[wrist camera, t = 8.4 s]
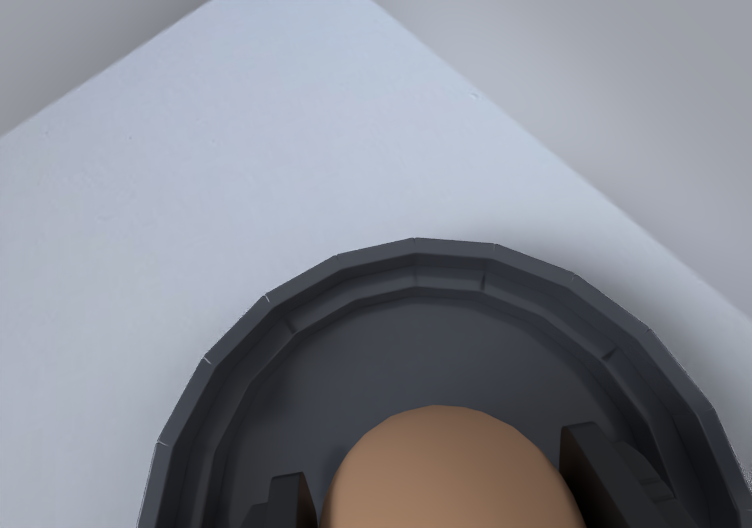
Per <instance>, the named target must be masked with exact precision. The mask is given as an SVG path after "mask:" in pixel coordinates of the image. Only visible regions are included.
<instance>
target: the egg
mask: <svg viewBox="0 0 752 528" xmlns="http://www.w3.org/2000/svg"><path fill="white" fill-rule="evenodd" d="M318 528H587V527H586V524H585V522H584V519H583V517H582V515H581V512H580V510H579V507H578V505H577V502H576V500H575V498H574V495H573V494H572V492H571V490H570V489H569V487H568V485H567V484H566V482H565V480H564V479H563V477H562V475H561V474H560V473H559V472H558V470H557V469H556V468H555V467H554V465H553V464H552V463H551V462H550V460H549V459H548V458H547V457H546V456H545V454H544V453H543V452H542V451H541V450H540V449H539V448H538V447H537V446H536V445H534V444H533V443H532V442H531V441H530V440H528V439H527V438H526V437H525V436H524V435H522V434H521V433H520V432H519V431H518V430H517V429H515V428H514V427H513V426H510V425H508V424H506V423H504V422H502V421H500V420H498V419H496V418H494V417H492V416H490V415H488V414H486V413H484V412H481V411H477V410H473V409H469V408H466V407H458V406H444V405H430V406H425V407H421V408H417V409H412V410H408V411H404V412H401V413H399V414H396V415H393V416H390V417H389V418H387V419H386V420H384V421H383V422H382V423H380V424H379V425H377V426H376V427H374V428H373V429H371V430H370V431H368V432H367V433H366V434H364V435H363V437H362V438H361V439H360V440H359V441H358V442H357V443H356V444H355V445H354V447H353V448H352V449H351V450H350V451H349V452H348V453H347V455H346V457H345V458H344V460H343V461H342V463H341V465H340V466H339V468H338V469H337V471H336V473H335V475H334V477H333V479H332V482H331V484H330V486H329V489H328V491H327V493H326V496H325V498H324V502H323V507H322V512H321V517H320V522H319V527H318Z"/></svg>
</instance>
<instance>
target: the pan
mask: <svg viewBox="0 0 752 528" xmlns="http://www.w3.org/2000/svg"><path fill="white" fill-rule="evenodd" d="M430 405H444V406H458V407H466V408H469V409H473V410H477V411H481V412H484V413H486V414H488V415H490V416H492V417H494V418H496V419H498V420H500V421H502V422H504V423H506V424H508V425H510V426H513V427H514V428H515V429H517V430H518V431H519V432H520V433H521V434H522V435H524V436H525V437H526V438H527V439H528V440H530V441H531V442H532V443H533V444H534V445H536V446H537V447H538V448H539V449H540V450H541V451H542V452H543V453H544V454H545V456H546V457H547V458H548V459H549V460H550V462H551V463H552V464H553V465H554V467H555V468H556V469H557V470H558V472H559V455H560V437H561V428H562V427H563V426H567V425H573V424H578V423H584V422H590V421H593V422H595V423H597V424H598V425H599V427H600V428H601V429H602V431H603V432H604V434H605V435H606V436H607V438H608V439H609V441H610V442H614V441H620V440H623V441H625V442H626V443H627V444H629V445H630V446H631V447H633V448H634V449H635V450H637V451H638V452H639V453H641V454H642V455H644V456H645V458H646V459H647V460H648V461H649V463H650V464H651V465H652V467H653V468H654V469H655V471H656V472H657V473H658V475H659V476H660V479H661V480H662V481H664V482H665V484H666V485H667V486H668V488H669V489H670V490H671V492H672V493H673V496H674V498H675V499H676V498H677V499H678V501H679V502H680V503H681V505H682V506H683V507H684V509H685V510H686V511H687V512H688V514H689V515H690V516H691V518H692V519H693V520H694V522H695V523H696V524H697V526H698V527H699V528H752V493H751V490H750V488H749V486H748V484H747V481H746V479H745V477H744V475H743V472H742V470H741V468H740V466H739V463H738V461H737V459H736V457H735V454H734V452H733V450H732V448H731V445H730V443H729V441H728V439H727V436H726V434H725V432H724V430H723V427H722V425H721V423H720V421H719V418H718V416H717V414H716V412H715V410H714V408H712V407H713V406H712V405H711V403H710V402H709V401H708V400H707V398H706V397H705V396H704V395H703V393H702V392H701V391H700V390H699V388H698V387H697V386H696V385H695V383H694V382H693V381H692V380H691V378H690V377H689V376H688V375H687V374H686V372H685V371H684V370H683V369H682V367H681V366H680V365H679V364H678V362H677V361H676V360H675V359H674V357H673V356H672V355H671V354H670V352H669V351H668V350H667V349H666V347H665V346H664V345H663V344H662V342H661V341H660V340H659V339H658V337H657V336H656V335H655V334H654V332H653V331H652V330H651V329H649V328H648V327H647V326H646V325H645V324H643V323H642V322H641V321H639V320H638V319H637V318H635V317H634V316H632V315H631V314H630V313H628V312H627V311H626V310H624V309H623V308H622V307H620V306H619V305H617V304H616V303H615V302H613V301H612V300H611V299H609V298H608V297H607V296H605V295H604V294H602V293H601V292H600V291H598V290H597V289H596V288H594V287H593V286H591V285H590V284H589V283H587V282H586V281H585V280H583V279H582V278H581V277H579V276H578V275H575V274H574V273H573V272H570V271H567V270H565V269H562V268H559V267H557V266H554V265H551V264H549V263H546V262H543V261H541V260H538V259H535V258H533V257H530V256H527V255H525V254H522V253H519V252H517V251H514V250H512V249H509V248H506V247H504V246H501V245H498V244H493V243H481V242H468V241H455V240H442V239H429V238H415V239H414V238H409V239H405V240H400V241H396V242H391V243H386V244H382V245H377V246H373V247H368V248H364V249H359V250H354V251H350V252H345V253H341V254H337V256H336V255H335V256H332V257H331V258H329V259H327V260H325V261H324V262H322V263H320V264H318V265H316V266H315V267H313V268H311V269H309V270H307V271H306V272H304V273H302V274H300V275H298V276H297V277H295V278H293V279H291V280H289V281H288V282H286V283H284V284H282V285H281V286H279V287H277V288H275V289H273V290H272V291H270V292H268V293H266V294H265V296H262V297H261V298H260V299H259V300H258V301H257V302H256V303H255V304H254V305H253V306H252V307H251V308H250V309H249V311H248V312H247V313H246V314H245V315H244V316H243V317H242V318H241V319H240V320H239V321H238V322H237V323H236V324H235V325H234V326H233V327H232V328H231V329H230V330H229V331H228V332H227V333H226V334H225V335H224V336H223V337H222V338H221V339H220V340H219V341H218V342H217V343H216V344H215V345H214V346H213V347H212V348H211V349H210V350H209V351H208V352H207V353H206V354H205V355H204V357H203V359H201V361H200V363H199V365H198V366H197V368H196V370H195V372H194V374H193V376H192V377H191V379H190V381H189V383H188V385H187V387H186V388H185V390H184V392H183V394H182V396H181V398H180V399H179V401H178V403H177V405H176V407H175V409H174V410H173V412H172V414H171V416H170V418H169V420H168V422H167V423H166V425H165V427H164V429H163V431H162V433H161V434H160V436H159V438H158V440H157V442H158V443H156V445H155V449H154V454H153V458H152V462H151V466H150V471H149V475H148V479H147V483H146V488H145V492H144V496H143V501H142V505H141V509H140V513H139V518H138V522H137V526H136V528H239V527H240V525H241V524H242V522H243V520H244V518H245V517H246V515H247V513H248V511H249V509H250V508H251V506H252V505H255V504H260V503H266V502H268V495H269V488H270V482H271V479H272V477H274V476H280V475H285V474H291V473H296V472H303V473H304V475H305V478H306V481H307V484H308V487H309V491H310V494H311V497H312V500H313V503H314V506H315V510H316V514H317V521H318V527H319V522H320V517H321V512H322V507H323V502H324V498H325V496H326V493H327V491H328V489H329V486H330V484H331V482H332V479H333V477H334V475H335V473H336V471H337V469H338V468H339V466H340V465H341V463H342V461H343V460H344V458H345V457H346V455H347V453H348V452H349V451H350V450H351V449H352V448H353V447H354V445H355V444H356V443H357V442H358V441H359V440H360V439H361V438H362V437H363V435H364V434H366V433H367V432H368V431H370V430H371V429H373V428H374V427H376V426H377V425H379V424H380V423H382V422H383V421H384V420H386V419H387V418H389V417H390V416H393V415H396V414H399V413H401V412H404V411H408V410H412V409H417V408H421V407H425V406H430Z"/></svg>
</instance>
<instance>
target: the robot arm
mask: <svg viewBox="0 0 752 528" xmlns="http://www.w3.org/2000/svg"><path fill="white" fill-rule="evenodd" d="M559 473H560V474H561V475H562V477H563V479H564V480H565V482H566V484H567V485H568V487H569V489H570V490H571V492H572V494H573V495H574V498H575V500H576V502H577V505H578V507H579V510H580V512H581V515H582V517H583V519H584V522H585V524H586V527H587V528H699V527H698V526H697V524H696V523H695V522H694V520H693V519H692V518H691V516H690V515H689V514H688V512H687V511H686V510H685V509H684V507H683V506H682V505H681V503H680V502H679V501H678V499H677V498H676V499H675V498H674V496H673V493H672V492H671V490H670V489H669V488H668V486H667V485H666V484H665V482H664V481H662V480H661V479H660V476H659V475H658V473H657V472H656V471H655V469H654V468H653V467H652V465H651V464H650V463H649V461H648V460H647V459H646V458H645V456H644V455H642V454H641V453H639V452H638V451H637V450H635V449H634V448H633V447H631V446H630V445H629V444H627V443H626V442H625V441H623V440H620V441H614V442H610V441H609V439H608V438H607V436H606V435H605V434H604V432H603V431H602V429H601V428H600V427H599V425H598V424H597V423H595V422H593V421H590V422H584V423H578V424H573V425H567V426H563V427H562V428H561V437H560V455H559ZM239 528H318V521H317V514H316V510H315V506H314V503H313V500H312V497H311V494H310V491H309V487H308V484H307V481H306V478H305V475H304V473H303V472H296V473H291V474H285V475H280V476H274V477H272V479H271V482H270V488H269V495H268V502H266V503H260V504H255V505H252V506H251V508H250V509H249V511H248V513H247V515H246V517H245V518H244V520H243V522H242V524H241V525H240V527H239Z"/></svg>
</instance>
